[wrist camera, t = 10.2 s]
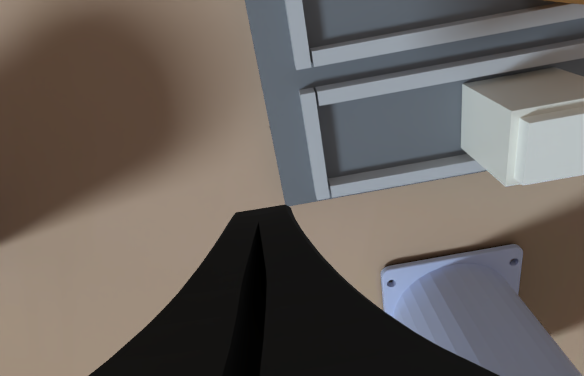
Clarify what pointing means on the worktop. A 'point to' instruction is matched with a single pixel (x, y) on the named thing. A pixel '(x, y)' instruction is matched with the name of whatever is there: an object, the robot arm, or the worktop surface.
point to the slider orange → (569, 1)
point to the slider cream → (525, 125)
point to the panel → (391, 82)
